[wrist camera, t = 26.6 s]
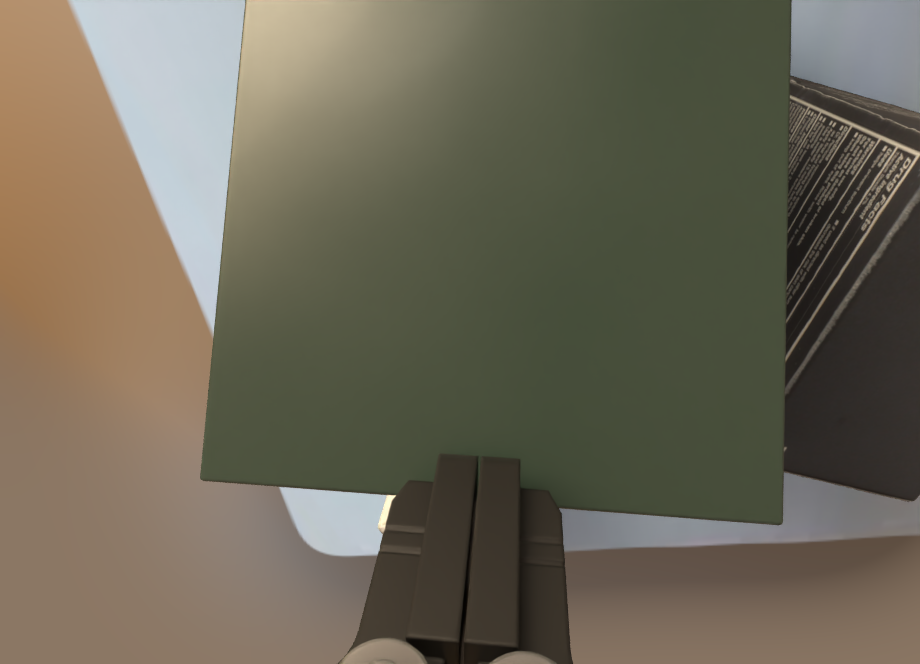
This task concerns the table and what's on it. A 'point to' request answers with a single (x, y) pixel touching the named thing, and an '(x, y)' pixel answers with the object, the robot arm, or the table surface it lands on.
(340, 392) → the bin lid
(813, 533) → the table surface
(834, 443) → the small box
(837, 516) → the table surface
